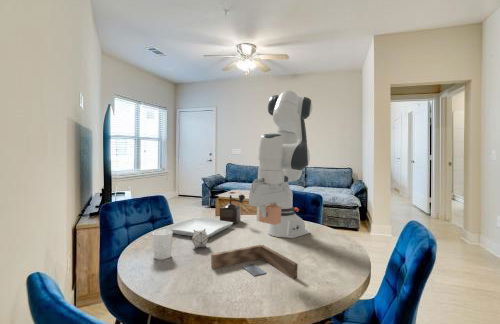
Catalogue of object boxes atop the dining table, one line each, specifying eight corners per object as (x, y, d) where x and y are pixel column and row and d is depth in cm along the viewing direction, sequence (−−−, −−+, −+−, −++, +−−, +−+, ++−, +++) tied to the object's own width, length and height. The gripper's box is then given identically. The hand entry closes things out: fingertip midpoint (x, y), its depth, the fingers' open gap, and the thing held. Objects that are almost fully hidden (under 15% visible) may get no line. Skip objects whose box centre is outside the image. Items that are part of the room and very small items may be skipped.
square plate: (234, 228, 157) (234, 221, 157) (207, 242, 132) (207, 234, 132) (194, 222, 168) (194, 216, 168) (162, 234, 143) (162, 227, 143)
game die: (202, 256, 123) (204, 243, 117) (185, 248, 124) (187, 235, 118) (211, 242, 130) (214, 228, 124) (195, 234, 131) (197, 220, 125)
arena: (262, 256, 114) (262, 244, 114) (297, 278, 95) (297, 263, 95) (211, 267, 103) (211, 253, 103) (239, 294, 84) (239, 278, 83)
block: (280, 222, 100) (281, 206, 100) (274, 225, 97) (275, 207, 97) (262, 219, 105) (263, 203, 105) (256, 220, 102) (257, 204, 102)
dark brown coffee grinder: (218, 223, 165) (218, 193, 164) (225, 219, 176) (225, 191, 175) (243, 225, 161) (243, 195, 160) (248, 221, 171) (249, 192, 171)
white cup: (176, 254, 115) (176, 230, 115) (164, 261, 108) (164, 236, 108) (160, 252, 118) (160, 228, 118) (148, 258, 110) (148, 233, 110)
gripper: (259, 180, 91) (258, 222, 91) (291, 177, 107) (290, 213, 107) (245, 178, 95) (243, 218, 95) (277, 176, 111) (276, 210, 111)
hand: (268, 215), depth 101 cm, fingers closed on block, 4 cm apart
